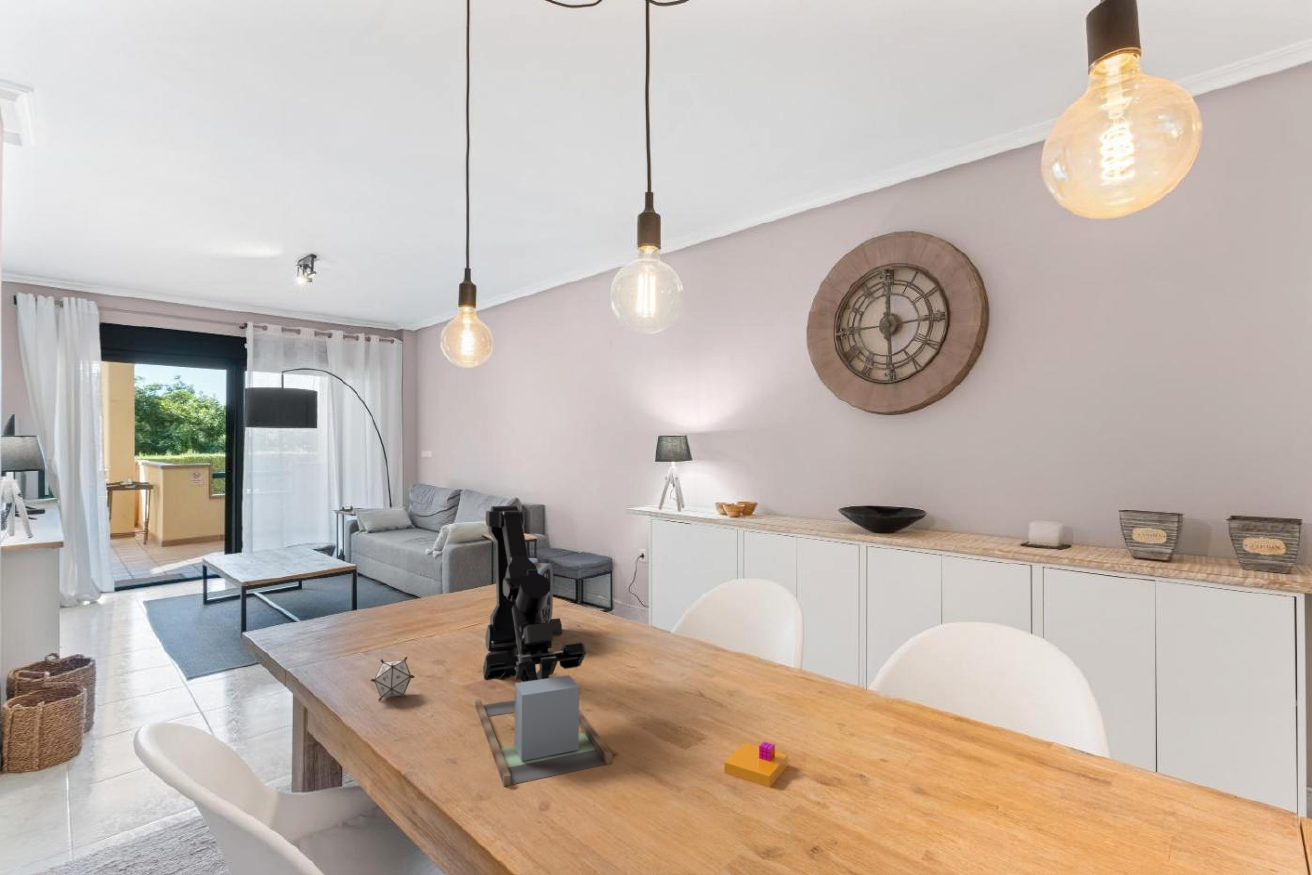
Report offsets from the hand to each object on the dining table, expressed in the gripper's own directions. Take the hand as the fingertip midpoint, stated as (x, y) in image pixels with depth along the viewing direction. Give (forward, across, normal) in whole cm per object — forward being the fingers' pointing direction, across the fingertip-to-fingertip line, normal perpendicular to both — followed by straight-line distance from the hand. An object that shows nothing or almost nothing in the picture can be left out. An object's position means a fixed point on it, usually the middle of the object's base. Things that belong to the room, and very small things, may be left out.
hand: (542, 703), depth 112 cm
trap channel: (+2, 0, +8) cm, 8 cm away
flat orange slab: (+22, +30, -11) cm, 39 cm away
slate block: (+7, 0, +2) cm, 8 cm away
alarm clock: (-40, +12, +49) cm, 64 cm away
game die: (-18, -24, +28) cm, 41 cm away
